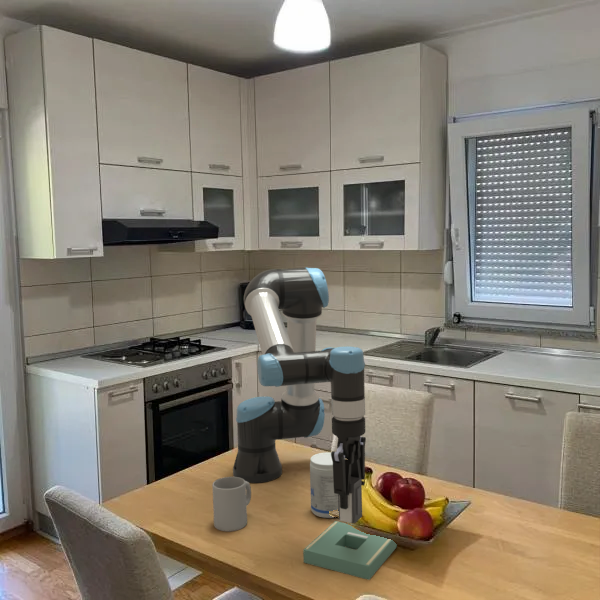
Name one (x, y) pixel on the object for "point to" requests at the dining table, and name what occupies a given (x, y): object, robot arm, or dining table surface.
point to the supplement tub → (322, 485)
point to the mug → (230, 503)
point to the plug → (355, 499)
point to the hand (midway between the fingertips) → (350, 516)
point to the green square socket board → (348, 551)
